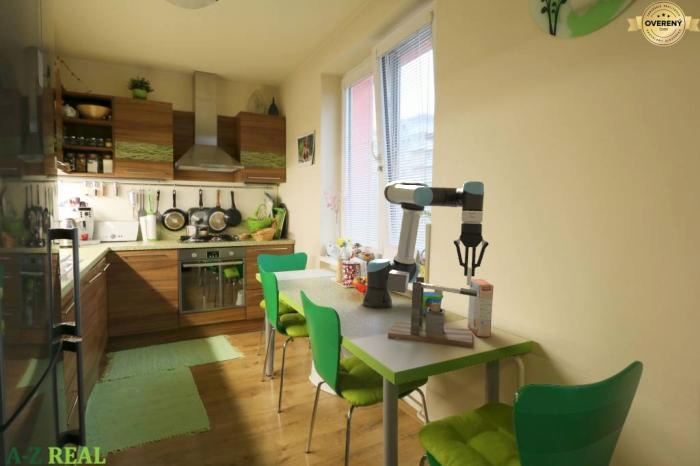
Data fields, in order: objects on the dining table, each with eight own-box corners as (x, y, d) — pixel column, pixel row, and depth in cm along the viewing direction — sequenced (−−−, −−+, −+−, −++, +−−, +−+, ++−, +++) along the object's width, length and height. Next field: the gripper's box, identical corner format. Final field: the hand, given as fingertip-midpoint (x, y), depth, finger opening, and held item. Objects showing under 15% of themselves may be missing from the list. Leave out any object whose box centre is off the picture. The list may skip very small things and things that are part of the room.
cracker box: (491, 337, 153) (494, 285, 152) (476, 337, 153) (478, 284, 152) (481, 327, 167) (483, 278, 166) (467, 326, 167) (469, 278, 166)
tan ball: (430, 311, 154) (431, 301, 154) (440, 312, 153) (441, 302, 153) (429, 313, 150) (430, 303, 150) (440, 314, 149) (440, 304, 149)
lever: (390, 286, 161) (392, 269, 160) (474, 300, 152) (477, 283, 151) (386, 290, 152) (388, 273, 151) (475, 306, 143) (478, 287, 142)
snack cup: (431, 310, 193) (431, 289, 193) (449, 314, 186) (450, 293, 185) (411, 315, 183) (412, 293, 182) (430, 320, 175) (431, 298, 174)
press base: (395, 326, 165) (396, 274, 163) (471, 334, 156) (473, 280, 155) (387, 337, 149) (389, 281, 148) (472, 347, 141) (475, 287, 139)
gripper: (453, 222, 144) (450, 285, 146) (490, 223, 141) (487, 288, 142) (454, 221, 152) (451, 281, 153) (489, 223, 148) (486, 284, 149)
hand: (468, 284), depth 148 cm, fingers closed
